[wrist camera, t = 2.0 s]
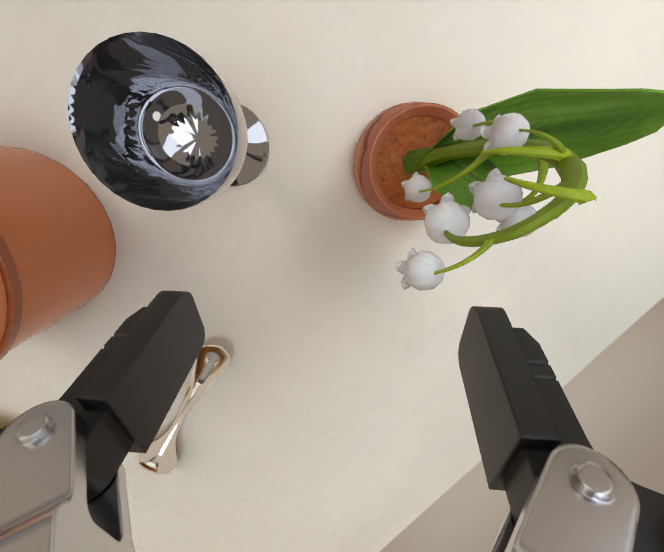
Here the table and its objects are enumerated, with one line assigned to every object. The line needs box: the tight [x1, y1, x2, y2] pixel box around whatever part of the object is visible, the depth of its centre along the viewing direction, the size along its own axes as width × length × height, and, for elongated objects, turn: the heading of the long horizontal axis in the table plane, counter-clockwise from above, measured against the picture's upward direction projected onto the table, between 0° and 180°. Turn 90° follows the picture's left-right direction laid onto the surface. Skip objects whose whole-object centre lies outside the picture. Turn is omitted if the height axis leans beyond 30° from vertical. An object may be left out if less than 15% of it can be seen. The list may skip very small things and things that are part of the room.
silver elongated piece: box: [136, 345, 230, 475], centre depth 37 cm, size 20×4×5 cm
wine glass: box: [68, 32, 269, 211], centre depth 23 cm, size 8×8×15 cm
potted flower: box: [354, 88, 664, 290], centre depth 20 cm, size 12×10×25 cm
